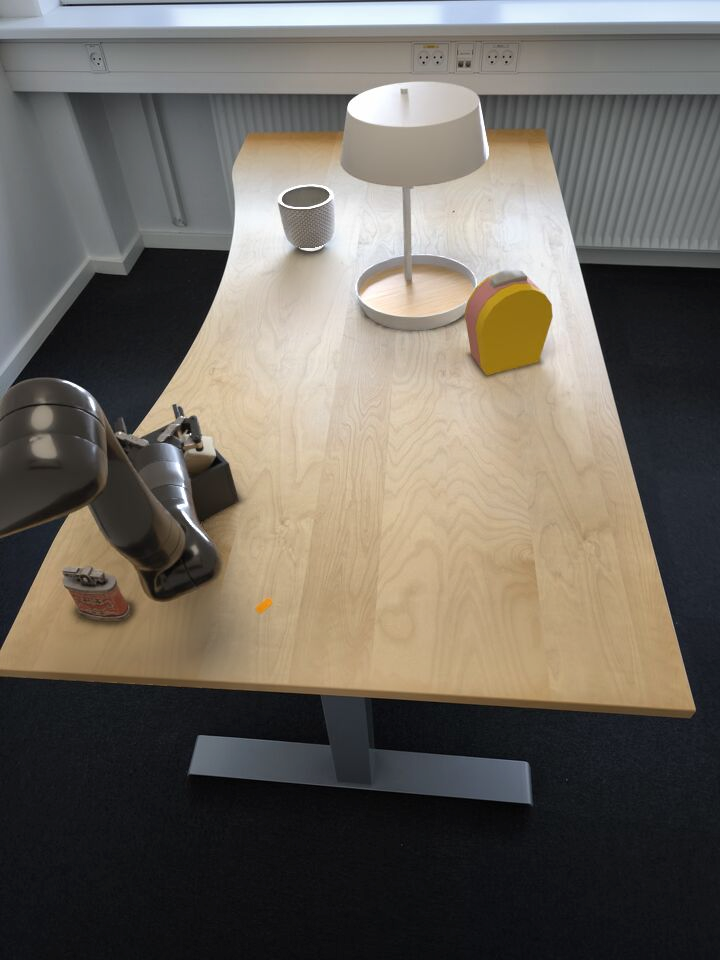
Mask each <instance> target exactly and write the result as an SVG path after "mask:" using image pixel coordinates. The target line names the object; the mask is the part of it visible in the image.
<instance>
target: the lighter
mask: <svg viewBox="0 0 720 960" xmlns="http://www.w3.org/2000/svg"><path fill="white" fill-rule="evenodd" d="M61 573H62V576H63V578H62V582H61V583H62V585H63V587H64V588H65V589H67V591H68V592H69V594H70V596H71V597H72V600H73V601H74V603H75V604H76V606H77V610H78V611H77V612H79V614H80V615H81V616H82V617H86V618H88V619H92V620H96V621H97V620H98V621H106V622H107V621H108V622H112V621H113V622H116V621H123V620H126V619H128V617H129V616H130V614H131V611H132V610H131V607H130V605H129V603H127V602H126V600H125V598H124V596H123V594H122V591H121V589H120V587H119V586H118V580H117V578H116V577H115V575H113V574H109V573H105V572H104V570H103V569H98V568H94V567H93V566H91V565H84V567H78V566H69V565H65V566H63V568H62V569H61Z"/></svg>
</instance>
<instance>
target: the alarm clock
mask: <svg viewBox="0 0 720 960" xmlns="http://www.w3.org/2000/svg"><path fill="white" fill-rule="evenodd" d="M552 304H553V303H552V302H551V301H550V300H549V298H548V296H547V295H546V294H545V293H544V292H543V291H542V290H541V289H540V288H539V287H538V286H537V285H536V284H535V283H534V282H533V281H532V280H531V279H530V278H529V276H528V275H526V273H524V272H523V270H520V269H512V268H511V269H510V268H509V269H504V270H500V271H498V272H497V273H494V274H492V275H489V276H487V277H486V278H485V279H484V280H483V281H482V282H480V283H479V284H477V287H476V288H475V290H474V291H473V293H472V294H471V296H470V297H469V299H468V301H467V305H466V309H465V314H464V318H465V320H464V321H465V325H466V331H467V337H468V345H469V351H470V356H471V357H472V358H473V360H474V361H475V363H477V365H478V366H479V368H480V369H481V370H482V371H483V373H484V374H485V375H486V376H490V375H494V374H499V373H501V372H506V371H510V370H513V369H518V368H522V367H525V366H529V365H533V364H537V363H539V362H540V360H541V355H542V353H543V350H544V347H545V344H546V340H547V337H548V333H549V330H550V326H551V324H552V320H553V305H552Z"/></svg>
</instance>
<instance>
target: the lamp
mask: <svg viewBox="0 0 720 960" xmlns="http://www.w3.org/2000/svg"><path fill="white" fill-rule="evenodd" d="M347 104H348V105H347V108H346V115H345V123H344V128H343V137H342V143H341V151H340V157H339V163H340V166H341V168H342V170H343V171H344V172H345V173H346V174H348V175H349V176H351V177H353V178H355V179H357V180H359V181H363V182H366V183H368V184H369V183H370V184H374V185H379V186H385V187H387V186H388V187H397V188H398V187H399V188H402V189H401V190H402V191H401V194H402V195H401V196H402V228H403V255H398V256H394V257H389V258H386V259H383V260H380V261H378V262H376V263H374V264H372V265H371V266H369V267H367V268H366V269H365V270H364V271H362V273H361V274H360V275H359V276H358V278H357V280H356V282H355V293H356V296H357V299H358V301H359V304H360V306H361V309H362V310H363V312H364V313H365V315H366V316H367V317H368V318H369V319H370V320H371V321H373V322H375V323H376V324H379V325H381V326H384V327H387V328H390V329H393V330H400V331H409V332H413V331H427V330H433V329H438V328H442V327H444V326H447V325H450V324H452V323H454V322H456V321H457V320H459V319H460V318H461V317H463V316H465V309H466V305H467V301H468V299H469V297H470V296H471V294H472V293H473V291H474V290H475V288H476V287H477V286H478V279H477V276H476V275H475V273H474V272H473V270H471V268H469V267H468V266H466V265H465V264H464V263H462V262H460V261H457V260H456V259H453V258H449V257H446V256H442V255H435V254H427V253H426V254H423V253H417V254H416V253H415V254H414V253H413V251H412V249H413V248H412V205H411V204H412V203H411V201H412V199H411V196H412V195H411V190H412V189H414V188H415V187H426V186H432V185H440V184H444V183H449V182H452V181H456V180H459V179H461V178H465V177H466V176H469V175H471V174H473V173H474V172H476V171H478V170H479V169H480V168H482V167H483V166H484V165H485V164H486V163H487V161H488V159H489V155H490V152H489V145H488V139H487V134H486V129H485V122H484V117H483V111H482V106H481V100H480V96H479V95H478V94H477V93H476V92H475V91H473V90H472V89H470V88H467V87H465V86H462V85H458V84H454V83H448V82H441V81H406V82H398V83H397V82H396V83H391V84H390V83H389V84H386V85H382V86H378V87H374V88H371V89H368V90H366V91H364V92H361V93H359V94H358V95H356V96H355V97H353V98H352V99H351V100H350V101H349V102H348V103H347Z"/></svg>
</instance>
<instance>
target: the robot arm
mask: <svg viewBox="0 0 720 960" xmlns="http://www.w3.org/2000/svg"><path fill="white" fill-rule="evenodd" d="M171 407H172V411H173V414H174V418H175V420H174V421H175V422H174V421H173V422H174V423H173V424H170V423H168V424H169V426H168V427H167V428H166V430H165V431H164V432H163V433H162V431H161V432H157V433H155V434H153V435H147V434H145V435H146V436H145V435H143V436H141V437H142V438H141V437H138V436H136V435H134V434H132V433H129V434H128V431H127V426H126V423H125V421H124V418H123V416H121V417H118V418H117V421H114V425H113V427H114V430H113V428H112V427H111V425H110V422H109V420H108V419H107V416H106V414H105V412H104V410H103V408H102V407H101V405H100V404H99V402H98V400H97V399H96V398H95V397H94V396H93V395H92V393H90V392H89V391H88V390H87V389H85V388H84V387H82V386H80V385H78V384H76V383H74V382H72V381H69V380H65V379H62V378H56V377H34V378H29V379H25V380H22V381H20V382H18V383H16V384H15V385H13V386H11V387H9V388H8V389H7V391H5V392H4V394H3V395H2V396H1V399H0V539H2V538H5V537H9V536H11V535H14V534H17V533H19V532H22V531H26V530H29V529H31V528H34V527H38V526H41V525H43V524H47V523H49V522H51V521H55V520H58V519H61V518H63V517H66V516H68V515H71V514H73V513H76V512H78V511H80V510H82V509H84V508H85V507H87V508H88V509H89V511H90V514H91V516H92V517H93V520H94V521H95V523H96V525H97V528H98V529H99V531H100V533H101V534H102V535H103V537H104V538H105V540H106V541H107V542H108V544H109V545H110V546H111V547H112V548H113V549H114V550H115V551H117V552H118V554H120V555H121V556H122V557H123V558H124V559H126V560H127V561H128V562H129V563H130V564H131V565H132V566H133V567H134V569H135V572H136V573H137V577H138V580H139V583H140V587H141V588H142V590H143V592H144V594H145V595H146V596H147V598H149V599H150V600H152V601H154V602H159V603H167V602H172V601H174V600H176V599H179V598H181V597H184V596H186V595H188V594H190V593H192V592H195V591H197V590H199V589H201V588H204V587H207V586H209V585H211V584H213V583H214V582H216V581H217V580H218V579H219V577H220V576H221V574H222V572H223V566H224V561H223V556H222V553H221V551H220V549H219V548H218V546H217V545H216V543H215V542H214V540H213V539H212V537H210V535H209V534H208V532H206V530H205V529H204V526H203V525H202V524H201V522H199V519H198V517H197V514H196V510H195V506H194V502H193V498H192V487H191V480H190V478H189V474H188V471H187V466H186V462H185V458H184V453H185V451H186V450H190V449H194V448H195V449H196V451H197V452H201V451H203V450H204V447H203V441H202V436H201V434H202V431H201V427H200V422H199V420H198V416H197V415H194V414H193V415H191V416H189V417H187V416H186V415H185V411H184V409H183V406H181V405H178V404H177V403H174V404H171ZM188 430H191V433H192V434H191V433H190V434H189V437H188V439H187V441H185V442H183V437H184V435H185V434H186V433H187V431H188ZM114 431H115V432H114ZM140 438H141V439H140ZM124 450H125V451H127V452H129V453H128V454H127V455H126V454H125V452H124Z"/></svg>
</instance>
